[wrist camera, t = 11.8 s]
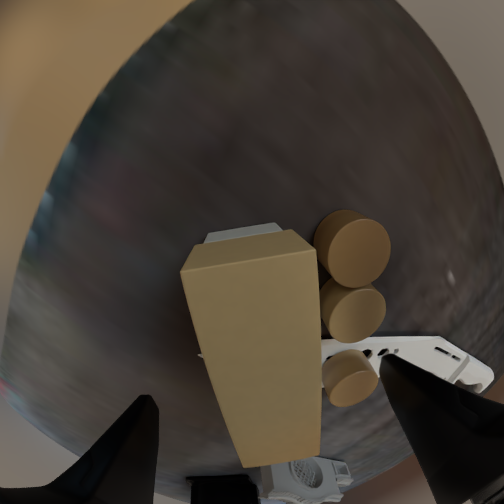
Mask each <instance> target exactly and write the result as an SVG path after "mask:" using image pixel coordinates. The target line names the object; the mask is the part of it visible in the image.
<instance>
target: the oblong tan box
mask: <svg viewBox="0 0 504 504" xmlns="http://www.w3.org/2000/svg"><path fill="white" fill-rule="evenodd" d="M180 276H181V280H182V284H183V288H184V292H185V296H186V300H187V303H188V307H189V311H190V315H191V318H192V322H193V325H194V329H195V332H196V336H197V339H198V343H199V346H200V349H201V353H202V356H203V359H204V362H205V366H206V369H207V372H208V375H209V378H210V381H211V384H212V387H213V390H214V393H215V396H216V399H217V401H218V404H219V407H220V410H221V413H222V415H223V418H224V421H225V423H226V426H227V429H228V431H229V434H230V436H231V439H232V441H233V444H234V446H235V449H236V451H237V454H238V456H239V459H240V461H241V463H242V466H243V468H249V467H258V466H265V465H272V464H278V463H284V462H290V461H295V460H300V459H304V458H309V457H313V456H317V455H319V454H320V435H321V403H322V354H321V320H320V299H319V282H318V268H317V255H316V249H315V248H313V247H312V246H311V245H310V244H309V243H308V242H306V241H305V240H304V239H303V238H302V237H300V236H299V235H298V234H297V233H296V232H294V231H293V230H292V229H290V230H284V231H283V230H282V229H281V228H280V227H279V226H278V225H277V224H276V223H268V224H261V225H255V226H249V227H242V228H236V229H230V230H224V231H218V232H212V233H208V234H207V237H206V239H205V241H204V243H203V244H198V245H195V246H194V247H193V249H192V251H191V253H190V254H189V256H188V258H187V260H186V262H185V263H184V265H183V267H182V269H181V271H180Z"/></svg>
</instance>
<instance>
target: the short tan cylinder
mask: <svg viewBox="0 0 504 504" xmlns="http://www.w3.org/2000/svg"><path fill="white" fill-rule="evenodd" d="M319 299H320V316H321V318H322V320H323V321H324V323H325V325H326V327H327V329H328V330H329V332H330V334H331V336H332V337H333V338H334V339H335V340H337V341H339V342H341V343H348V344H350V343H356V342H359V341H362V340H364V339H366V338H367V337H369V336H370V335H372V334H373V333H374V332H375V331H376V330H377V329H378V327H379V326H380V325H381V323H382V321H383V319H384V316H385V312H386V303H385V300H384V297H383V296H382V295H381V293H380V292H379V291H377V290H376V289H375V288H374V287H373V286H372V285H371V284H368V285H365V286H362V287H358V288H350V287H345V286H343V285H341V284H339V283H338V282H336V281H335V280H334V278H333V277H332V278H331V279H329V280H328V281H327V282H326V283H325V284H324V285H323V287H322V288H321V290H320V292H319Z"/></svg>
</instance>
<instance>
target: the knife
mask: <svg viewBox="0 0 504 504" xmlns="http://www.w3.org/2000/svg"><path fill="white" fill-rule="evenodd" d="M435 347H440V348H442V349H443V350H445V351H447V352H449V353H448V354H447V355H446V354H444V353H443V352H441V351H439V350H437V349H434V348H435ZM350 349H355V350H359V351H364V350H366V349H369V350H371V353H370V354H369V356H368V357H367V359H368V361H369V362H370V364H371V365H372V367H373V369H374V370H375V372H376V373H377V375H378V377H380V375H379V367H380V363H381V358H382V356H384V355H387V354H390V353H392V354H395V355H397V356H399V357H400V358H402V359H404V360H406V361H408V362H410V363H412V364H414V365H416V366H418V367H420V368H422V369H424V370H426V371H429V372H431V373H433V374H434V375H436V376H438V377H440V378H442V379H444V380H446V381H448V382H450V383H452V384H454V383H455V382H456V381H457V380H458V379H459V380H460V381H461V382H462V383H463V384H468V385H472V384H474V391H475V392H477V393H480V392H482V391H483V390H484V389H485V388H486V387H487V386H488V385H489V384H490V383H491V382H492V381H493V380H494V374H493V371H492V370H491V369H490V368H489V367H488V366H486V365H485V364H483V363H482V362H480V361H479V360H477V359H475V358H474V357H472V356H471V355H469V354H468V353H466V352H464V351H462V350H461V349H459V348H457V347H456V346H454V345H453V344H451V343H449V342H448V341H446V340H445V339H444V338H442V337H440V336H434V337H432V336H397V337H367V338H366V339H364V340H362V341H359V342H356V343H350V344H348V343H341V342H339V341H337V340H335V339H325V340H321V354H322V367H323V365H324V364H325V362H326V361H327V360H328V359H326V358H327V357H328V356H334V355H335V354H337V353H339V352H342V351H345V350H350ZM382 349H387V351H386V352H385V353H384V354H383V355H380V356H378V355H377V354H378V353H379V352H380V351H381V350H382ZM395 349H396V350H395ZM394 350H395V351H394ZM452 355H455V356H456V357H455V358H452ZM198 356H200V357H202V358H203V356H202V354H198ZM322 388H324V386H323V383H322Z"/></svg>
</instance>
